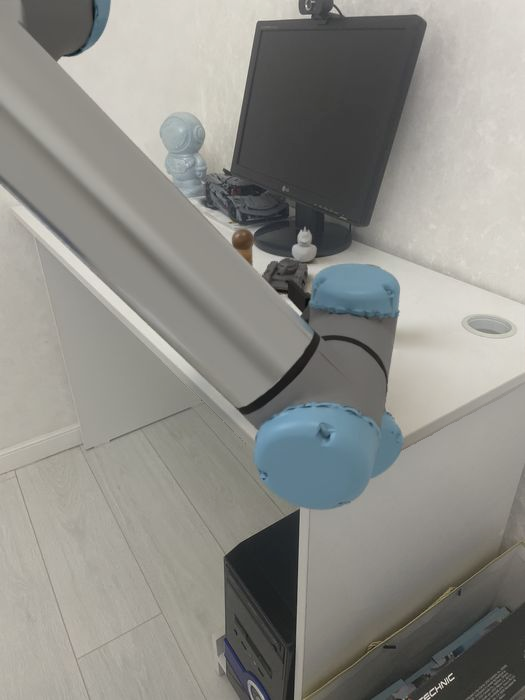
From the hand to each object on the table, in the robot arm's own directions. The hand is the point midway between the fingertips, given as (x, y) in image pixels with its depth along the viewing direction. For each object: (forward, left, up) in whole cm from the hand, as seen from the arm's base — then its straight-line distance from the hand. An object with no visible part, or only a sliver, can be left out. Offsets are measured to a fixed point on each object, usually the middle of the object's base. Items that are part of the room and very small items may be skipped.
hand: (247, 295), depth 76 cm
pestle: (0, +1, -10) cm, 10 cm away
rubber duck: (+24, +33, -10) cm, 42 cm away
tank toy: (+15, +22, -10) cm, 29 cm away
